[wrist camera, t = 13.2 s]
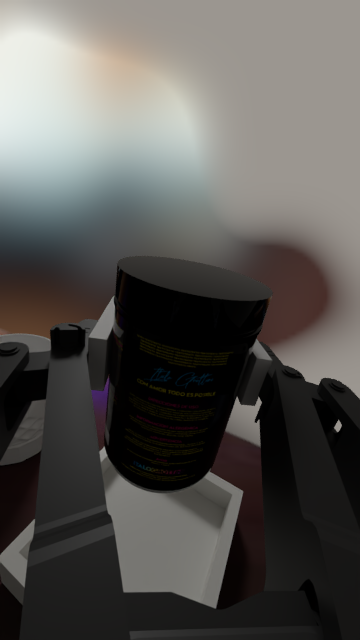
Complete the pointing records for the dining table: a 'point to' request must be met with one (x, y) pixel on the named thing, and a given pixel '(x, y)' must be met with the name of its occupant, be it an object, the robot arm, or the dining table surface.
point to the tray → (156, 537)
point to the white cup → (32, 424)
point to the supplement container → (176, 366)
